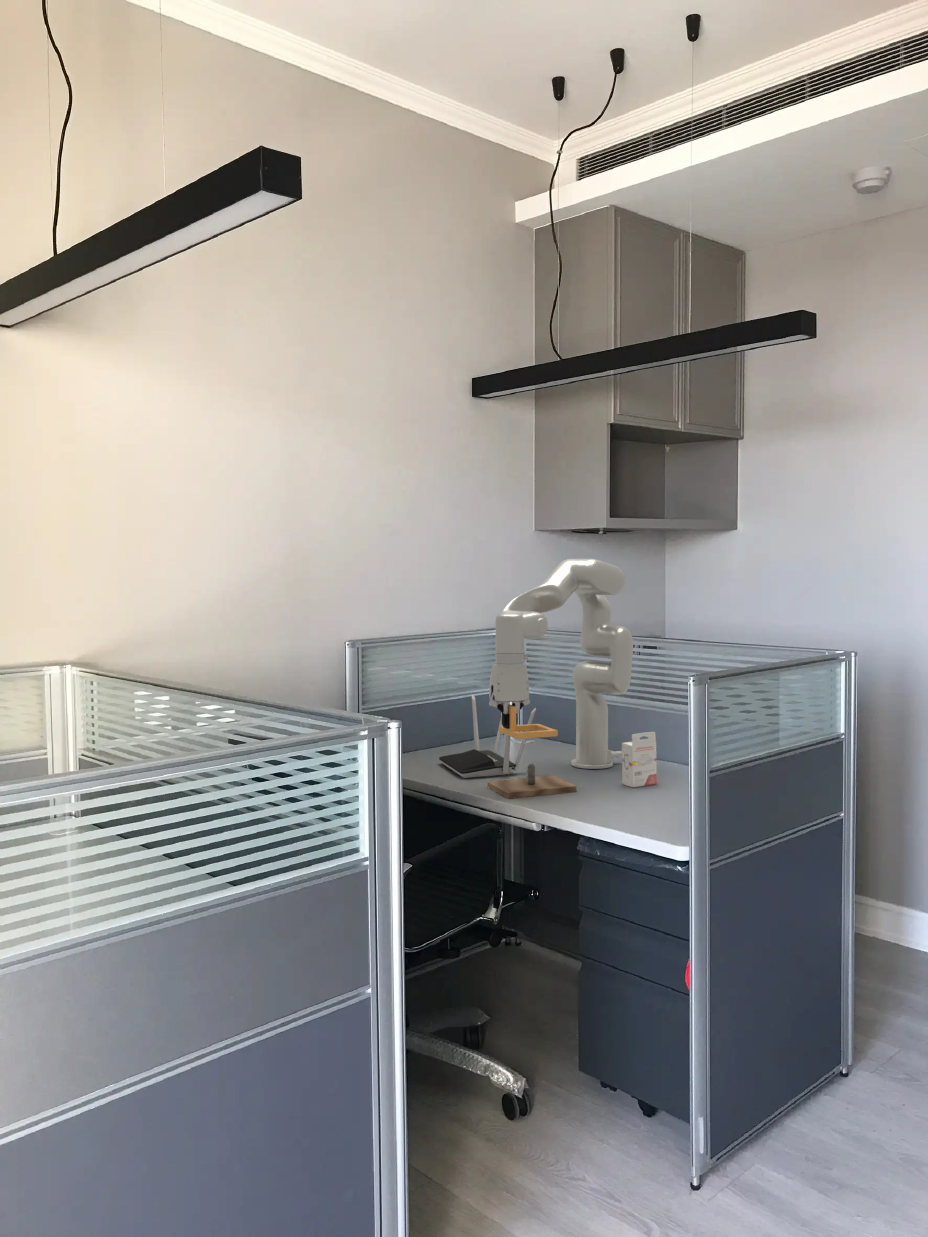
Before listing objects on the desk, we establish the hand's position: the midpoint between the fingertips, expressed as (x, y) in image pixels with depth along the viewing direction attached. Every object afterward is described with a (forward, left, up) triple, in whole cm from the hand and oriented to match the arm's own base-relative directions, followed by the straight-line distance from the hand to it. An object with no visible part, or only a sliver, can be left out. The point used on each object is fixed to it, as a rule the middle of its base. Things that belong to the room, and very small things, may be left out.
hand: (509, 727), depth 264 cm
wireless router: (-5, -29, -18) cm, 34 cm away
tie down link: (-5, 0, -2) cm, 6 cm away
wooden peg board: (-6, 0, -17) cm, 19 cm away
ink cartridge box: (-36, +6, -18) cm, 41 cm away
